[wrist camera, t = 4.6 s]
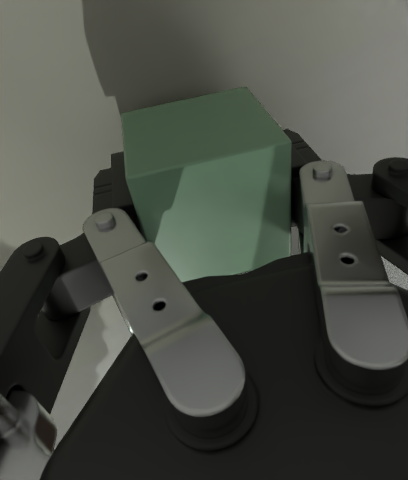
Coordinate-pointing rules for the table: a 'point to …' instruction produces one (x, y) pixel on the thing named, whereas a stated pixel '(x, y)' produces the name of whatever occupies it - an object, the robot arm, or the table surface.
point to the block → (210, 182)
